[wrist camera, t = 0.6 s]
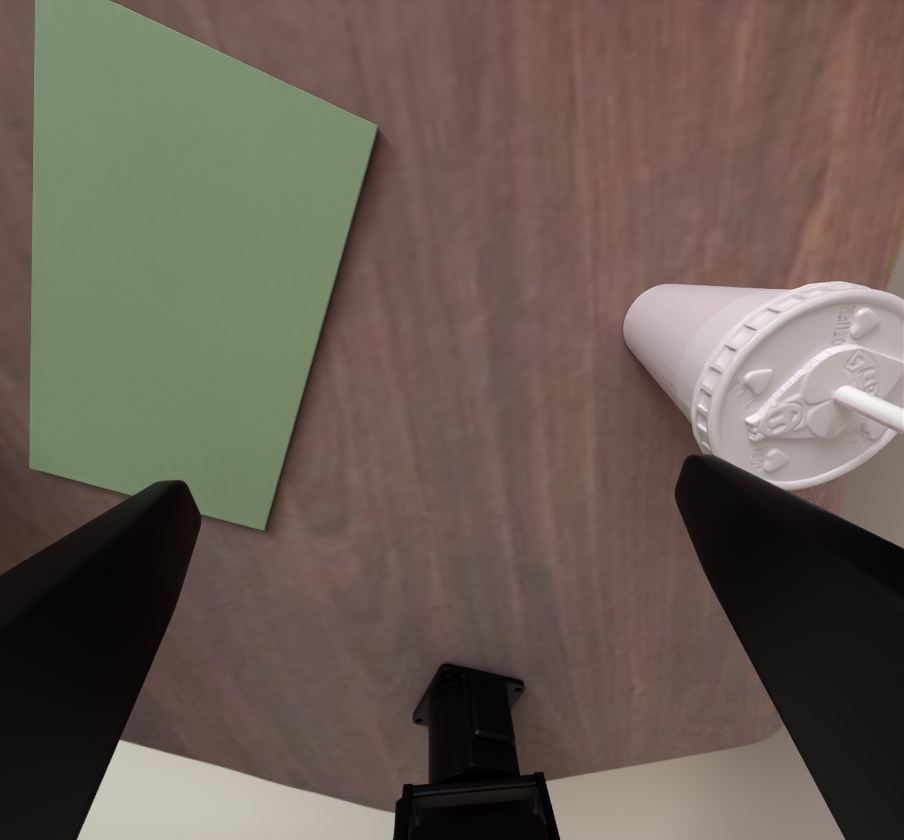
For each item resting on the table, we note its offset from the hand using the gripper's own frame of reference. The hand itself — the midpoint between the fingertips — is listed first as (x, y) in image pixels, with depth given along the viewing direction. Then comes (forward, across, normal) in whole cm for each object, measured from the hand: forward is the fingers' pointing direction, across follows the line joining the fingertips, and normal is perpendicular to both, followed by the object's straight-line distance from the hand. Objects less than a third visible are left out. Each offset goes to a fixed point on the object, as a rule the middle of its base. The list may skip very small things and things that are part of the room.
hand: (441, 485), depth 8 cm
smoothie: (+14, -11, +2) cm, 18 cm away
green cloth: (+14, +12, +2) cm, 18 cm away
